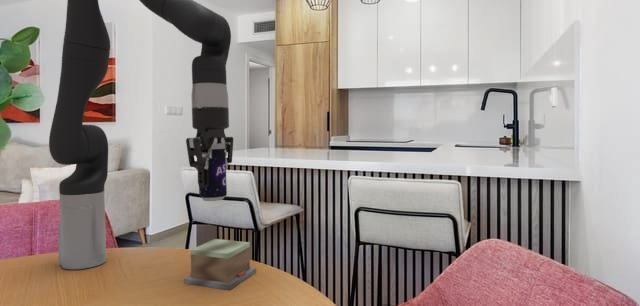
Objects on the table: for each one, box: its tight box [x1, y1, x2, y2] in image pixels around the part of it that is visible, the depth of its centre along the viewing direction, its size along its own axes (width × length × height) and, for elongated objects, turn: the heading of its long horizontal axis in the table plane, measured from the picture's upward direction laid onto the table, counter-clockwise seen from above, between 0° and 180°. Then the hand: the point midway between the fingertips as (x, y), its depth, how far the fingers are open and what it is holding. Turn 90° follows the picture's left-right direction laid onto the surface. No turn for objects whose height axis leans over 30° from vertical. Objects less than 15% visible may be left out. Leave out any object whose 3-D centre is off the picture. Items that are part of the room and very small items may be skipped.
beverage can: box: [198, 143, 228, 202], centre depth 87 cm, size 6×6×12 cm
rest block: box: [183, 238, 257, 291], centre depth 88 cm, size 11×11×7 cm
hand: (212, 185), depth 87 cm, fingers closed on beverage can, 5 cm apart
